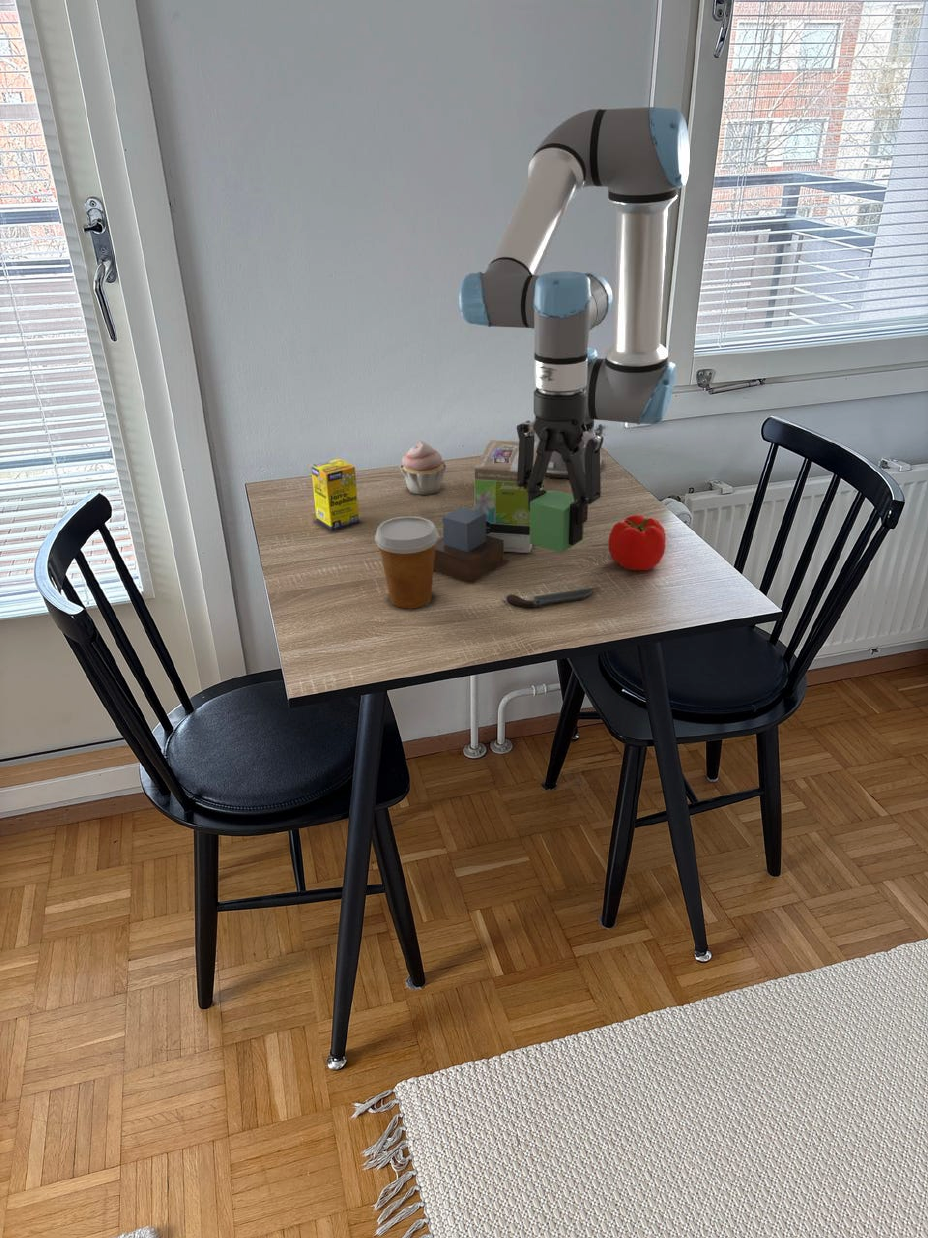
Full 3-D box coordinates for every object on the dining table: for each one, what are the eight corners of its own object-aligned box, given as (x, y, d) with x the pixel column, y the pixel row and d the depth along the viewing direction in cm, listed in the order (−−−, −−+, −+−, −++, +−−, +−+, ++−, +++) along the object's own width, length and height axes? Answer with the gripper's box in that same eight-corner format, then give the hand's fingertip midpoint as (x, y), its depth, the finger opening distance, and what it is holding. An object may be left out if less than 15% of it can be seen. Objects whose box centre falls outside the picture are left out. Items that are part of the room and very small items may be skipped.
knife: (513, 610, 139) (513, 606, 139) (505, 598, 142) (505, 594, 142) (601, 597, 142) (601, 593, 141) (591, 585, 145) (592, 582, 145)
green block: (550, 530, 148) (551, 489, 145) (583, 539, 145) (584, 497, 141) (529, 543, 144) (529, 501, 140) (562, 553, 141) (563, 510, 137)
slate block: (462, 534, 154) (461, 506, 152) (486, 541, 151) (485, 513, 149) (443, 545, 151) (442, 516, 148) (468, 552, 148) (467, 523, 146)
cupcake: (402, 480, 187) (399, 432, 182) (449, 480, 186) (447, 431, 181) (398, 498, 179) (394, 449, 174) (446, 498, 178) (444, 448, 173)
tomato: (626, 581, 147) (629, 537, 143) (598, 558, 154) (600, 516, 150) (677, 569, 149) (681, 526, 146) (647, 548, 157) (650, 506, 153)
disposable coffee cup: (454, 598, 143) (451, 526, 137) (408, 620, 138) (402, 547, 132) (413, 578, 149) (409, 509, 143) (367, 599, 144) (360, 528, 138)
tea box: (532, 554, 156) (532, 471, 148) (473, 551, 158) (471, 468, 150) (543, 518, 169) (544, 440, 161) (489, 515, 170) (487, 437, 163)
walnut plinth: (460, 548, 159) (459, 527, 157) (503, 562, 154) (503, 540, 152) (427, 568, 152) (426, 546, 150) (471, 582, 148) (470, 560, 146)
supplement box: (332, 531, 166) (325, 474, 161) (316, 521, 171) (309, 464, 165) (360, 523, 169) (355, 466, 164) (344, 513, 174) (338, 457, 168)
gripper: (490, 384, 135) (492, 530, 146) (605, 405, 125) (597, 560, 136) (520, 373, 140) (519, 515, 152) (632, 391, 130) (623, 542, 141)
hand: (556, 536), depth 144 cm, fingers closed on green block, 6 cm apart
